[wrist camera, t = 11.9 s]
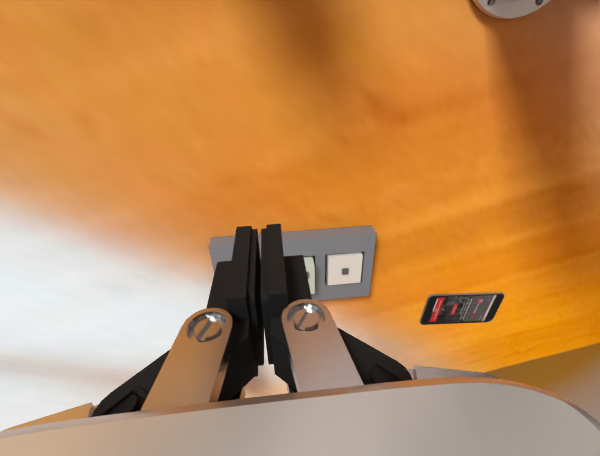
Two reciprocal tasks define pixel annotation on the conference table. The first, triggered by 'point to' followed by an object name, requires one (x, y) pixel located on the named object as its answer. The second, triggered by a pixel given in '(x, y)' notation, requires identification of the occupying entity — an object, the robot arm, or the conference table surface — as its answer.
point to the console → (318, 255)
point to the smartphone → (461, 308)
